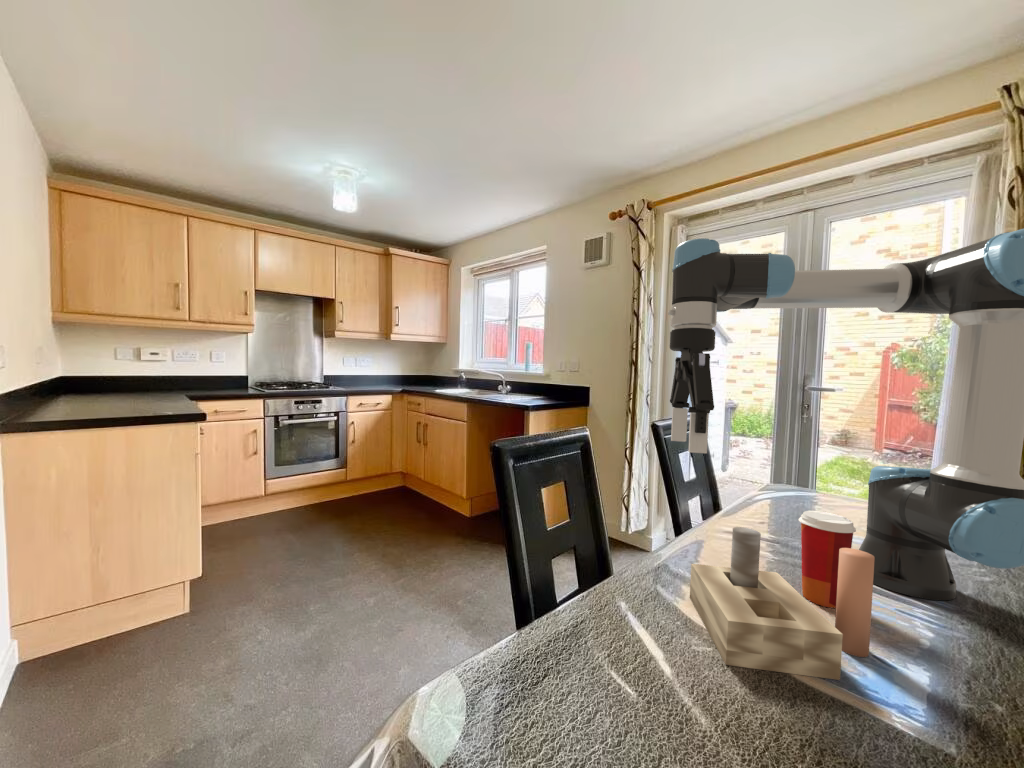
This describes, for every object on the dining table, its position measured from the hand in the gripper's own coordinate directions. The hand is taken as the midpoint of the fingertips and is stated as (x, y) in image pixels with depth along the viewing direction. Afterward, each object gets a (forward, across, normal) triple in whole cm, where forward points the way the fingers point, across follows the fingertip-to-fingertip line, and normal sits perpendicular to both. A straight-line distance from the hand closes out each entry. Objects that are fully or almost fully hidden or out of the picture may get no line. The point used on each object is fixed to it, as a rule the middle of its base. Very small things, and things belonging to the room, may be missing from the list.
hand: (687, 446), depth 77 cm
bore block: (+26, +11, +8) cm, 30 cm away
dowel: (+26, +12, +21) cm, 36 cm away
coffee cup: (+27, -3, +25) cm, 37 cm away
